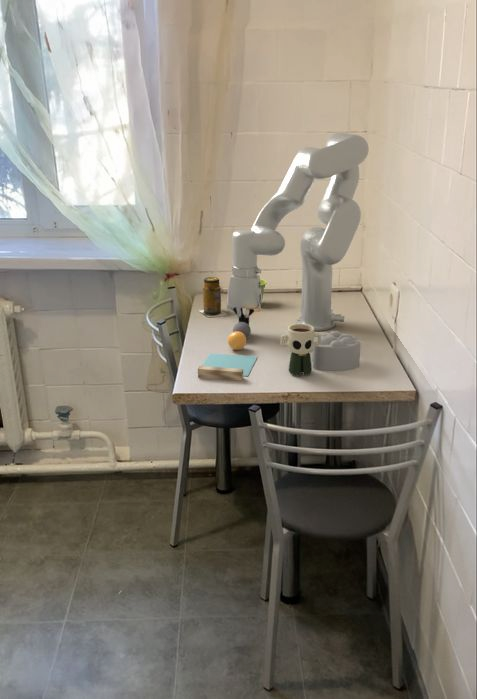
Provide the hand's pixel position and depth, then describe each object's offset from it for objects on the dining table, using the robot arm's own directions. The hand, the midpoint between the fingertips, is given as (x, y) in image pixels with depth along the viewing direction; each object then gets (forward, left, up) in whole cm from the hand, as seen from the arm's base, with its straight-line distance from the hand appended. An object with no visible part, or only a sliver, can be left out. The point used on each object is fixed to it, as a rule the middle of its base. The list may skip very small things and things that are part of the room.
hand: (243, 328), depth 208 cm
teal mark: (-1, +25, -2) cm, 25 cm away
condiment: (+15, -19, -2) cm, 24 cm away
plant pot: (+3, -30, -2) cm, 30 cm away
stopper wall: (-1, +34, -2) cm, 34 cm away
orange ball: (-1, +13, +1) cm, 13 cm away
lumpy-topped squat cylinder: (-30, +19, -2) cm, 36 cm away
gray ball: (0, +5, +1) cm, 5 cm away
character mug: (-21, +27, -2) cm, 34 cm away
